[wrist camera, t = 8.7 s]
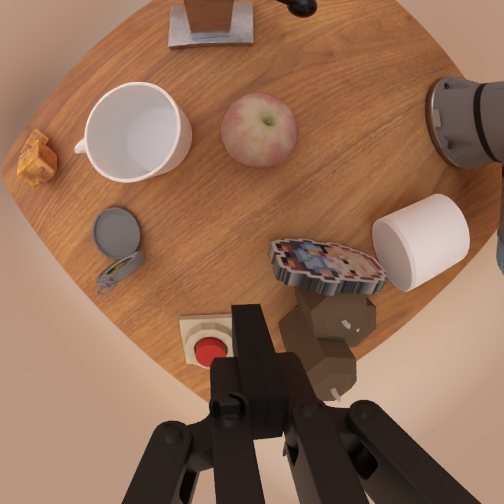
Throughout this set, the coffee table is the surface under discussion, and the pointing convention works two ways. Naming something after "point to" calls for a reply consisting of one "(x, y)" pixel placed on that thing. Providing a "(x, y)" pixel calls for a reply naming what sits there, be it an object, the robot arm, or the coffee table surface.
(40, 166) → the pyrite
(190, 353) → the housing
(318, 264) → the toy
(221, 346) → the button
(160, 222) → the coffee table surface
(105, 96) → the mug
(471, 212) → the coffee table surface
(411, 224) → the white cylinder
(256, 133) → the apple
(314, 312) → the candle
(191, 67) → the coffee table surface
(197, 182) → the coffee table surface
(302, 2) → the lever
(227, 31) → the bracket
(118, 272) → the pocket watch
